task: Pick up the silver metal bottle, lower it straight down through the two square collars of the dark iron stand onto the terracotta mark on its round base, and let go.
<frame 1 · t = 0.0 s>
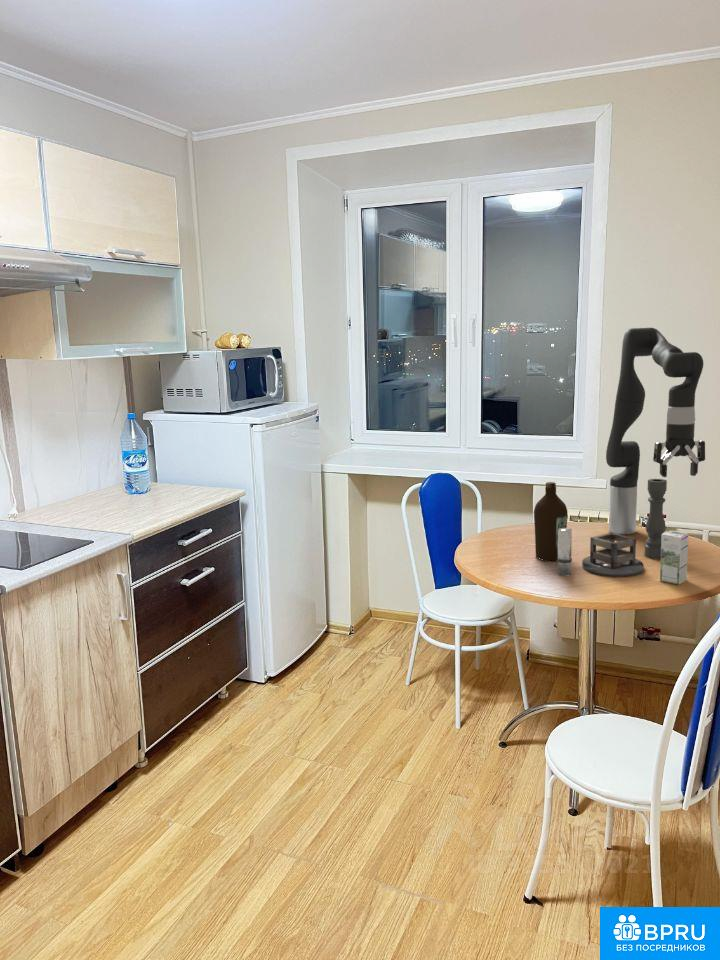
hand: (678, 476, 212), 29 cm above the table, tool pointing down, fingers open, 8 cm apart
syrup box: (673, 581, 209), on the table
silver metal bottle: (564, 573, 219), on the table
olive oil: (550, 557, 236), on the table
collar stand: (612, 567, 223), on the table
candle holder: (654, 556, 233), on the table
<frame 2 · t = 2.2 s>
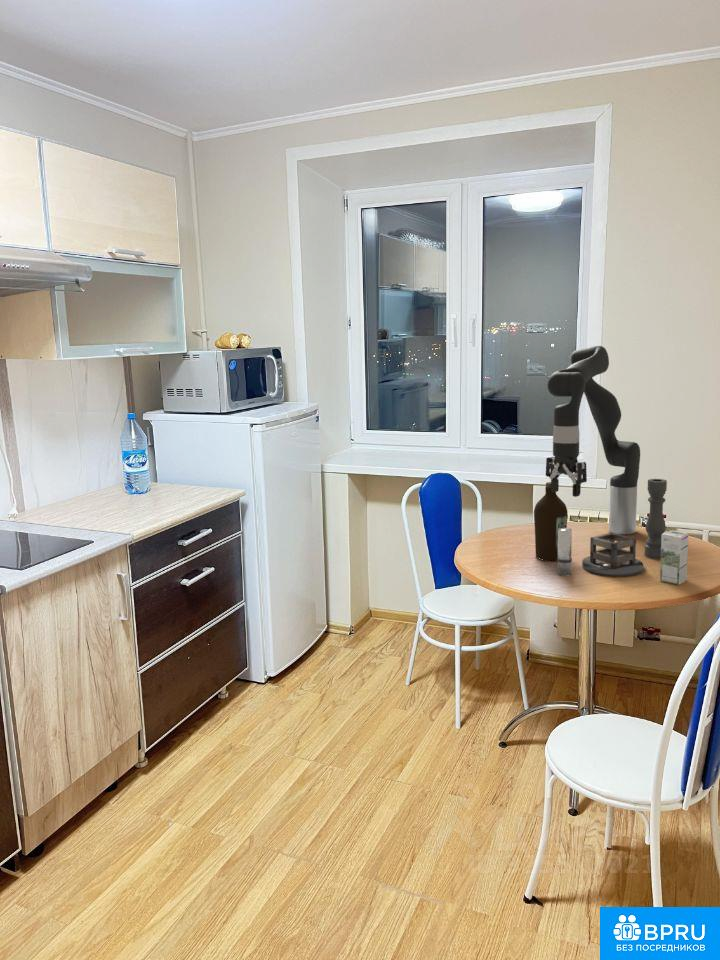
hand: (565, 493, 215), 25 cm above the table, tool pointing down, fingers open, 8 cm apart
nothing on the table moved.
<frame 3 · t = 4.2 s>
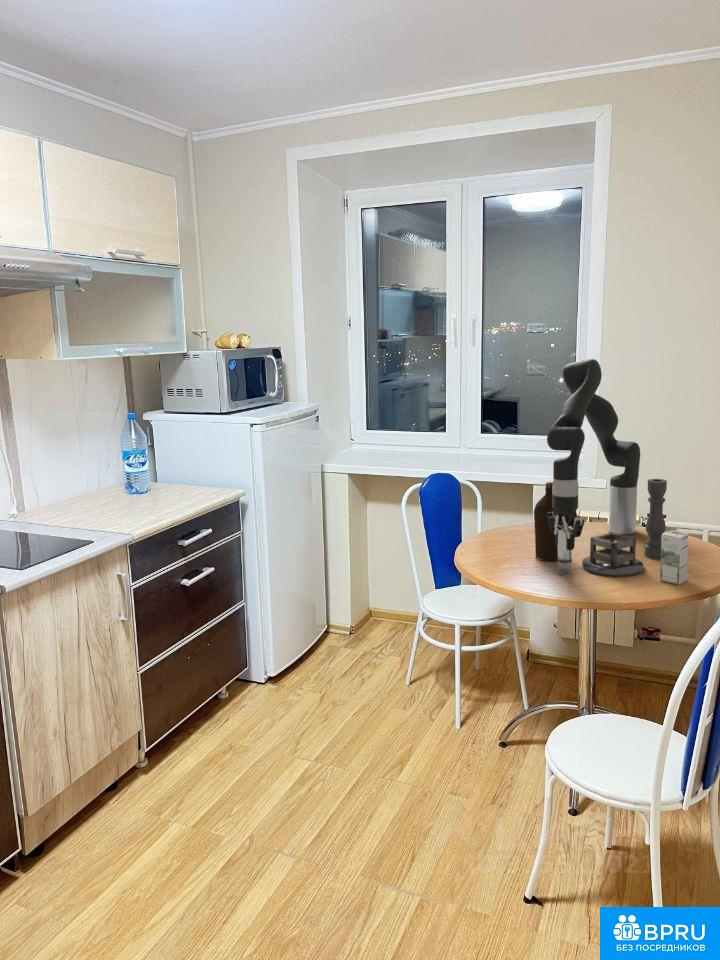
hand: (564, 547, 218), 8 cm above the table, tool pointing down, fingers closed on silver metal bottle, 4 cm apart
silver metal bottle: (564, 573, 219), on the table, touching gripper
everything else where it was.
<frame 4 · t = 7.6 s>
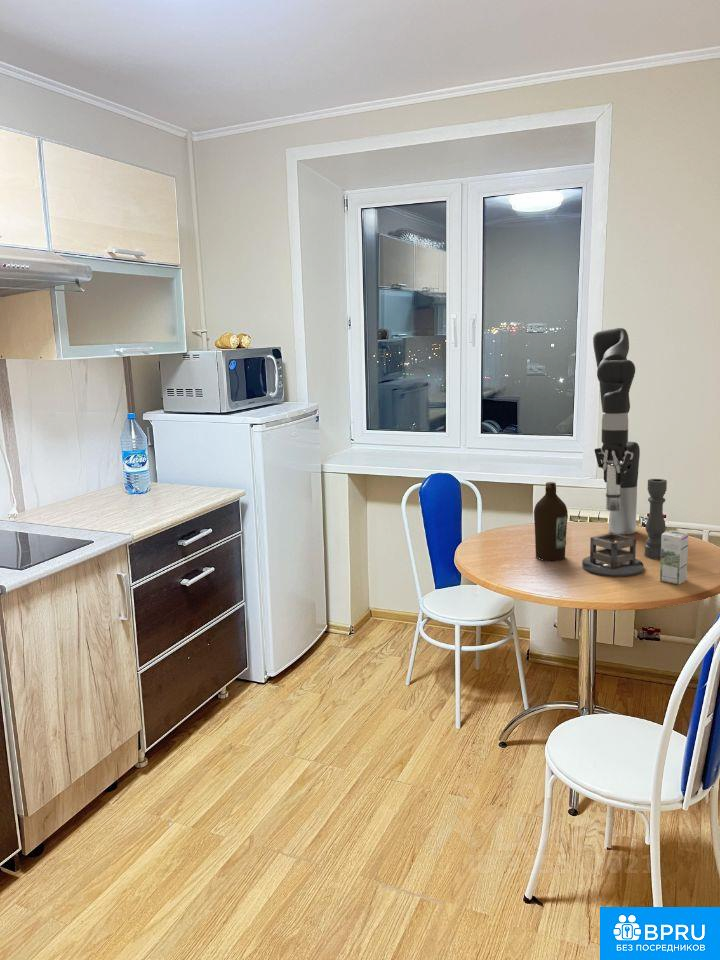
hand: (613, 483, 218), 27 cm above the table, tool pointing down, fingers closed on silver metal bottle, 4 cm apart
silver metal bottle: (613, 509, 220), point 19 cm above the table, touching gripper
everything else where it was.
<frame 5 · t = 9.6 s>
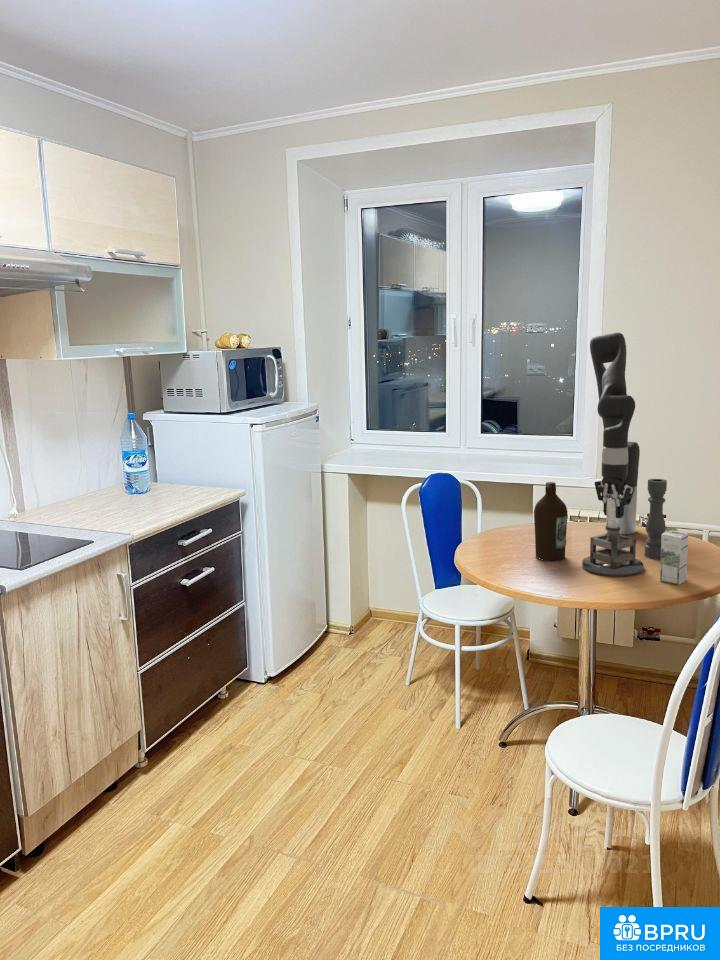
hand: (613, 516, 220), 16 cm above the table, tool pointing down, fingers closed on silver metal bottle, 4 cm apart
silver metal bottle: (612, 542, 221), point 8 cm above the table, touching gripper
everything else where it was.
when the fingers open (11 cm above the table, at t = 11.2 s): silver metal bottle drops 1 cm, resting on collar stand.
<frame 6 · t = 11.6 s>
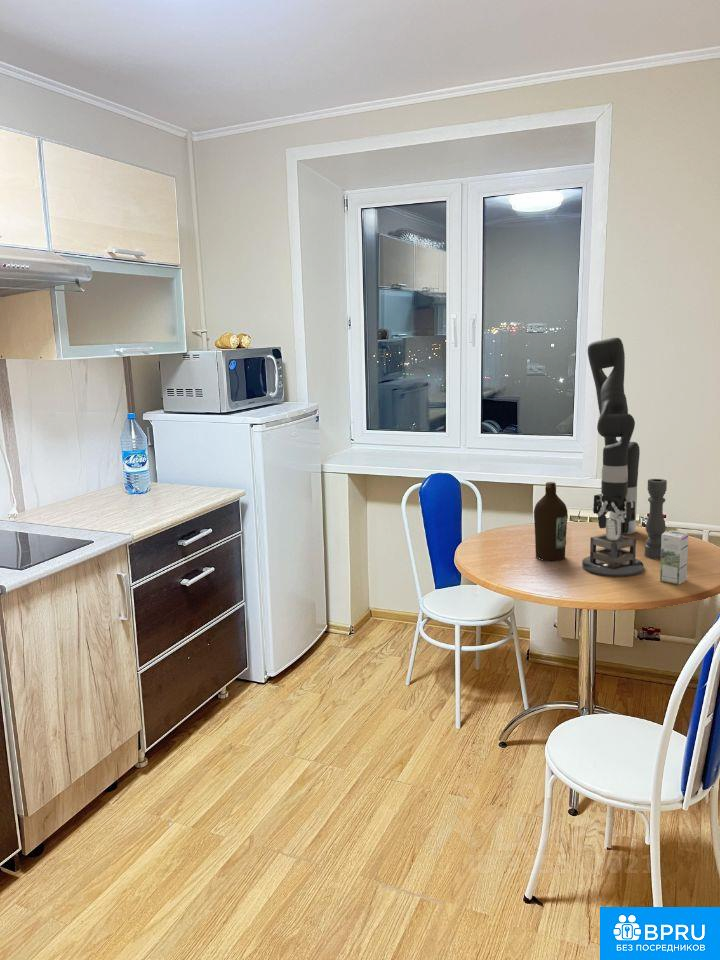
hand: (613, 530, 221), 12 cm above the table, tool pointing down, fingers open, 8 cm apart
silver metal bottle: (612, 562, 223), point 2 cm above the table, touching collar stand
everything else where it was.
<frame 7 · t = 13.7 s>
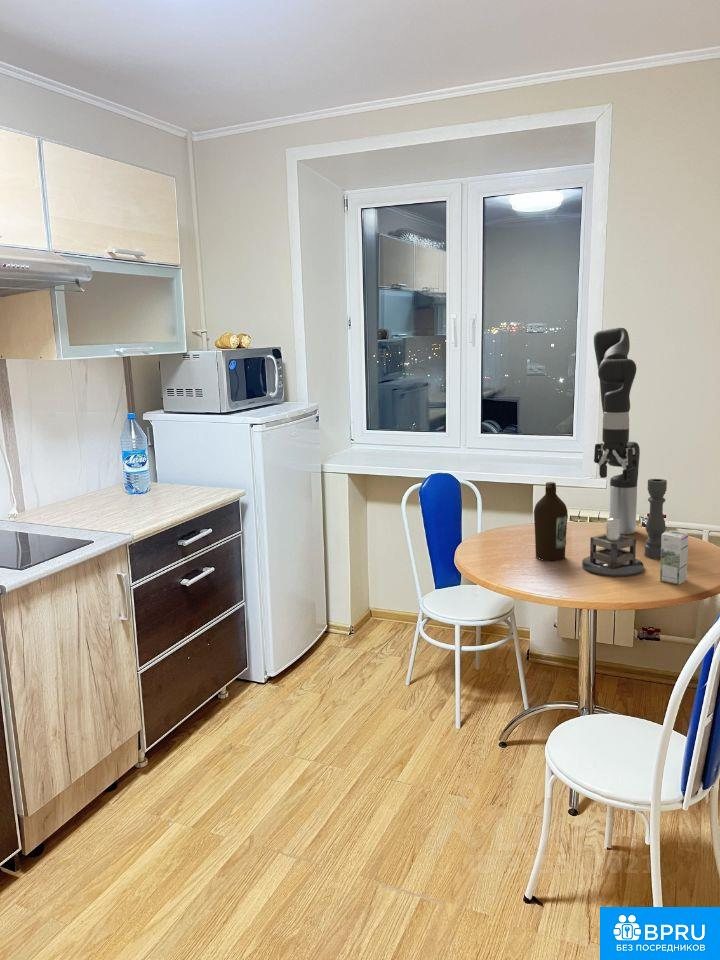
hand: (614, 479, 218), 28 cm above the table, tool pointing down, fingers open, 8 cm apart
nothing on the table moved.
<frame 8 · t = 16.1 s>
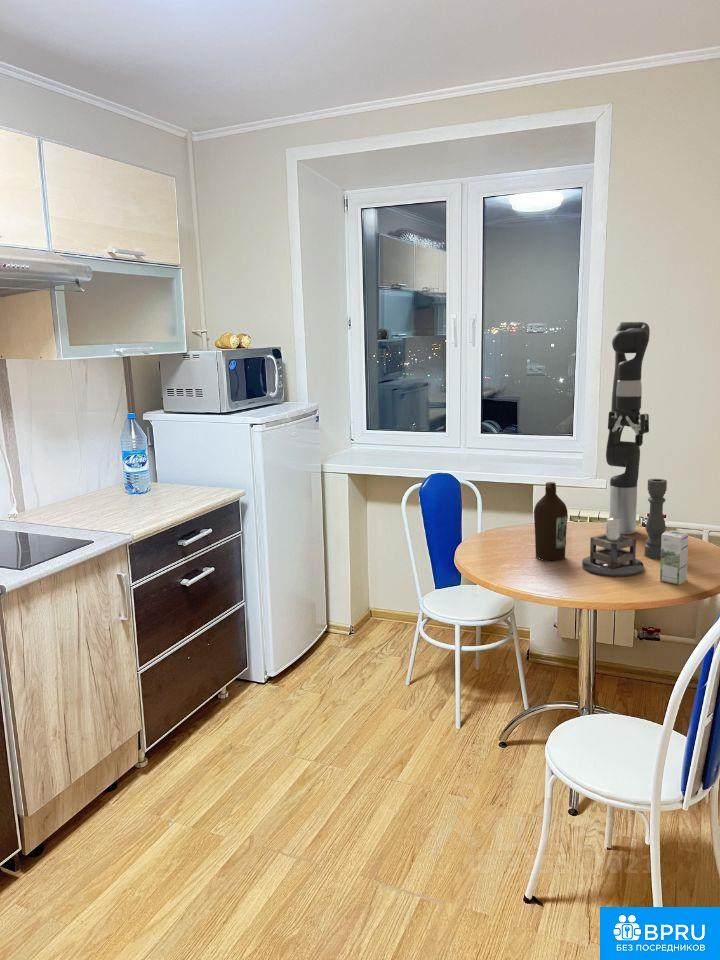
hand: (627, 444, 231), 36 cm above the table, tool pointing down, fingers open, 8 cm apart
nothing on the table moved.
at the end: silver metal bottle 0.1 cm off-centre on the collar stand, point 1.6 cm above the collar stand's base; silver metal bottle tilted 0°; the gripper is holding nothing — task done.
